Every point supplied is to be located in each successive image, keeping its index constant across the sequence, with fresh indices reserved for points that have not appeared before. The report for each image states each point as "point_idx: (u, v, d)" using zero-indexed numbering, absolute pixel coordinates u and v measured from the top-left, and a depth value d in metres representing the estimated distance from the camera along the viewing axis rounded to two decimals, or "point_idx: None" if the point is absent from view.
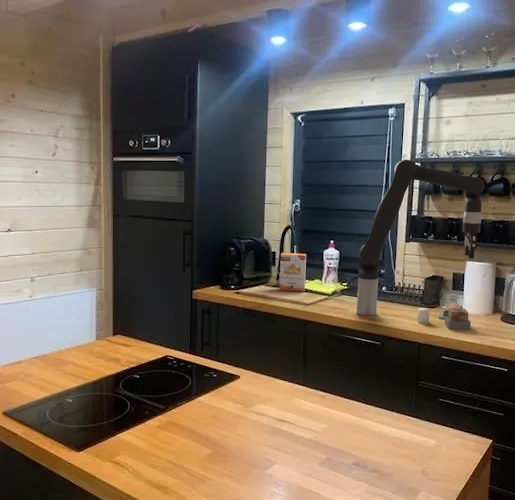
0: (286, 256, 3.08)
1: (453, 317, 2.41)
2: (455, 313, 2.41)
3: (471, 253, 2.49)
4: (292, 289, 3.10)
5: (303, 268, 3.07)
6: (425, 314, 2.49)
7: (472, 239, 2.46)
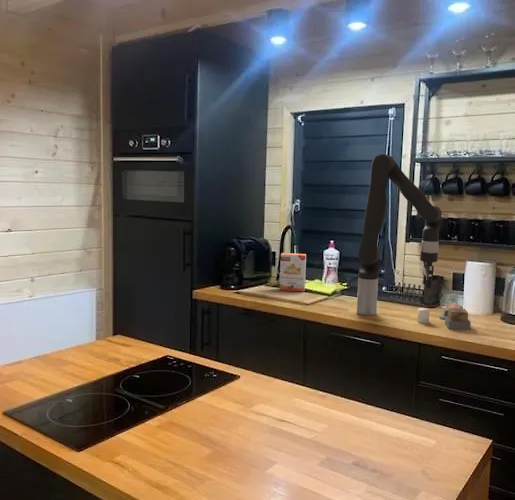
0: (286, 256, 3.08)
1: (453, 317, 2.41)
2: (455, 313, 2.41)
3: (428, 283, 2.45)
4: (292, 289, 3.10)
5: (303, 268, 3.07)
6: (425, 314, 2.49)
7: (429, 269, 2.42)
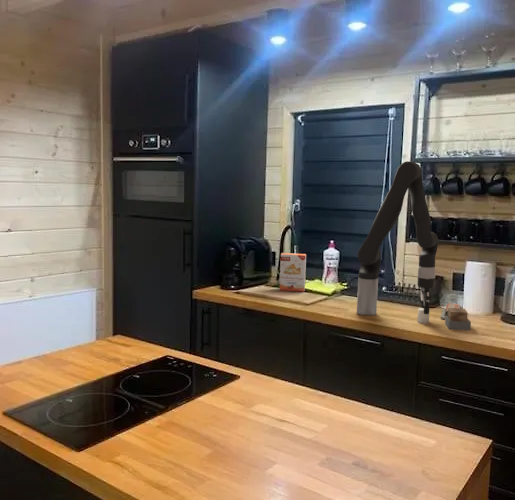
0: (286, 256, 3.08)
1: (452, 317, 2.41)
2: (454, 313, 2.41)
3: (426, 309, 2.46)
4: (292, 289, 3.10)
5: (303, 268, 3.07)
6: (425, 314, 2.49)
7: (426, 295, 2.43)
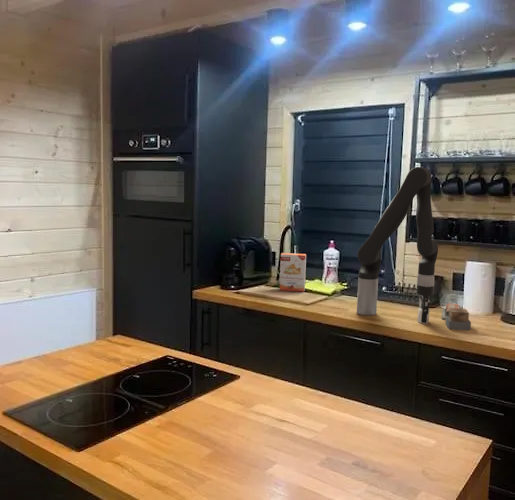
0: (286, 256, 3.08)
1: (453, 317, 2.41)
2: (455, 313, 2.41)
3: (423, 317, 2.48)
4: (292, 289, 3.10)
5: (303, 268, 3.07)
6: None
7: (424, 305, 2.44)
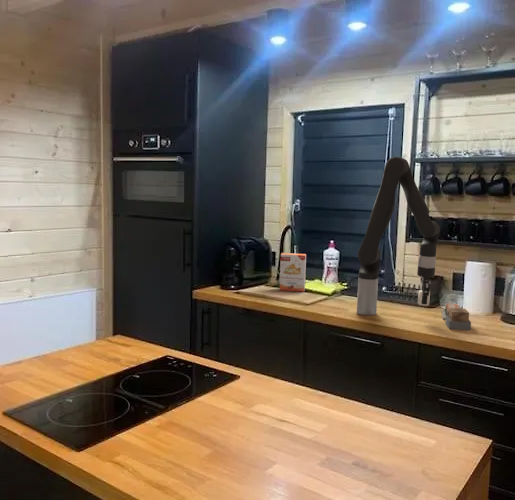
0: (286, 256, 3.08)
1: (454, 317, 2.41)
2: (456, 313, 2.41)
3: (424, 299, 2.47)
4: (292, 289, 3.10)
5: (303, 268, 3.07)
6: None
7: (425, 286, 2.43)
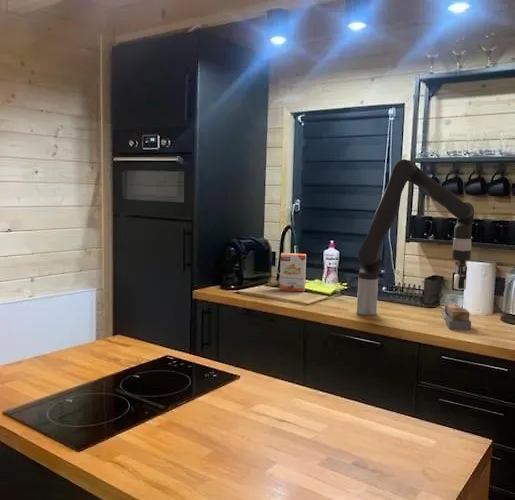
0: (286, 256, 3.08)
1: (454, 317, 2.41)
2: (456, 313, 2.41)
3: (461, 283, 2.38)
4: (292, 289, 3.10)
5: (303, 268, 3.07)
6: None
7: (462, 270, 2.35)
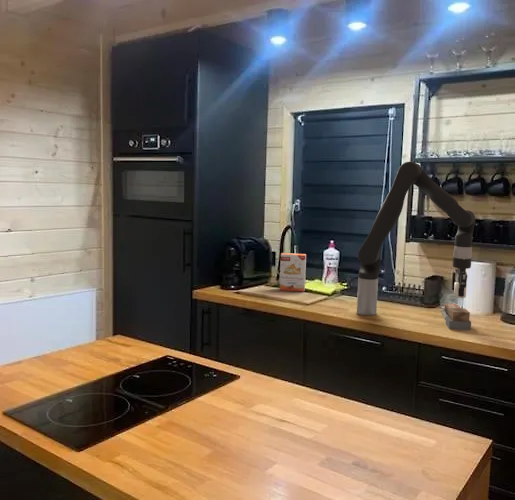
0: (286, 256, 3.08)
1: (455, 318, 2.41)
2: (457, 313, 2.41)
3: (461, 291, 2.39)
4: (292, 289, 3.10)
5: (303, 268, 3.07)
6: None
7: (462, 278, 2.35)
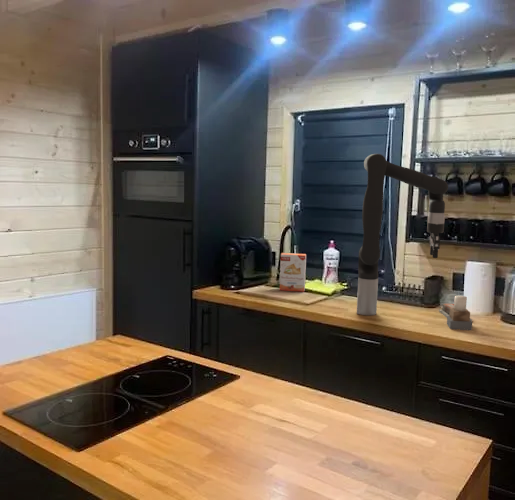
0: (286, 256, 3.08)
1: (455, 317, 2.42)
2: (457, 313, 2.41)
3: (435, 253, 2.56)
4: (292, 289, 3.10)
5: (303, 268, 3.07)
6: (462, 302, 2.41)
7: (435, 239, 2.54)
